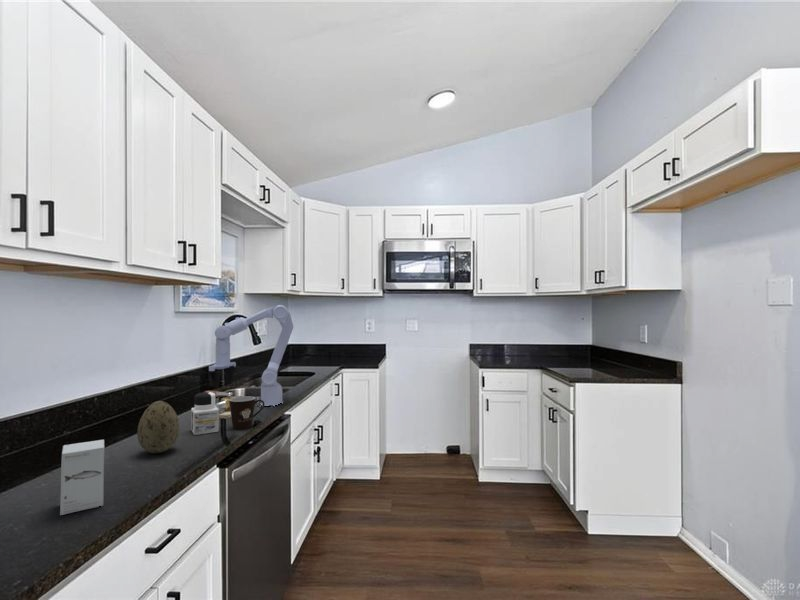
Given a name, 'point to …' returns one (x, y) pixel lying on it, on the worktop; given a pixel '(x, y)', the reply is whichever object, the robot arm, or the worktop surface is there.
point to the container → (204, 414)
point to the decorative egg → (158, 427)
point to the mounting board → (225, 414)
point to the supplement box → (82, 476)
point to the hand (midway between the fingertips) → (222, 385)
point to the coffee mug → (243, 412)
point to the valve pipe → (224, 404)
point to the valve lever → (221, 393)
